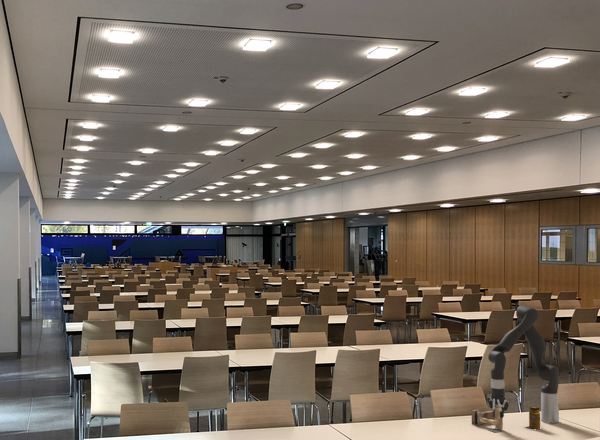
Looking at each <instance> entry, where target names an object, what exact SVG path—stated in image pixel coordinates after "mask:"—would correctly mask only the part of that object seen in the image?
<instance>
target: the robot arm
mask: <svg viewBox="0 0 600 440" xmlns="http://www.w3.org/2000/svg"><path fill="white" fill-rule="evenodd" d="M515 314H516V315H515V316H516V318H517V321H518V323H519V324H518V325H517V326H515V327H514V328H513V329H511V330H509V331H507V333H505V335H504V336H503V338H501V340H500V341H499V343H498V344H496V345H495V346H494V347H493V348H492V349H491V350H490V351H489V353H488V355H487V358H488V360H489V362H490V363H492V364H494V367H493V368H491V370H490V376H491V377H490V395H491V396H490V397H487V398H486V400H487V403H488V406H489V409H492V411H493V415H494V417H495V407H497V406H499V408H500V418H504V417H505V411H508V408H509V406H510V400H506V397H505V395H506V391H505V390H506V388H505V387H506V386H505V385H506V384H505V369H506V364H507V357H506V355H505V353H508V352H510V351H511V350H512V349H513V348H514V346H515V344H516V343H517V342H518V340H519V339H520V338H521V337H522V336H523V335H524V336H525V339H526V341H527V344H528V347H529V351H530V352H531V355H532V359H533V361H534V365H535V368H536V372H537V376H538V378H539V379H541V380H542V381H546V382H548V384H547V385H542V386H541V387H540V422H543V423H546V424H557V423H558V422H560V413H559V412H560V407H559V405H558V404H559V403H558V400H559V399H558V398H559V397H558V389H559V380H560V379H559V378H560V377H559V375H560V372H559V368H558V367H557V366H555V365H550V364H546V363H545V361H544V356H545V354H546V351H547V344H546V342H545V339H544V336H543V335H542V334H541V332H540V331H539V330H538V329H537V327H536V326H535V325H534V324H535V323H536V322H537V320H538V317H539V312H538V310H537V309H536V308H533V307H530V306H527V305H519V306H518V307H517V308H516V312H515Z"/></svg>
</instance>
